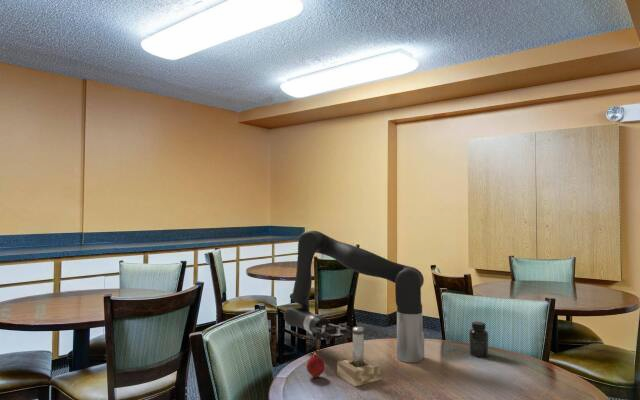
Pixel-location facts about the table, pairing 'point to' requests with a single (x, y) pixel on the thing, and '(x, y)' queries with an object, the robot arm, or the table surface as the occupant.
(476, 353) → the supplement bottle
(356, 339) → the cylinder
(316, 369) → the onion
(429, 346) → the table surface
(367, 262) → the robot arm
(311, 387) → the table surface
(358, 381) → the square ring gauge
